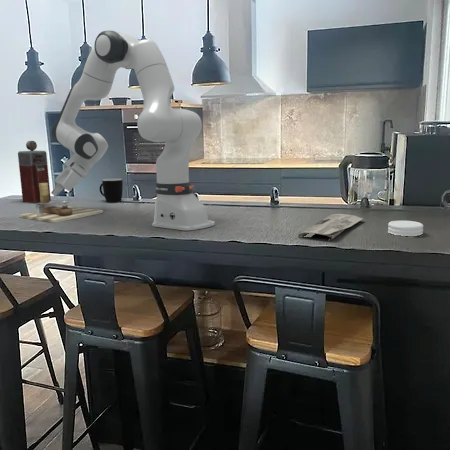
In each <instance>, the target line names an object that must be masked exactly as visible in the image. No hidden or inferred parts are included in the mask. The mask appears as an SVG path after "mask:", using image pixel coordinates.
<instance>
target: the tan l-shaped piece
mask: <svg viewBox="0 0 450 450" xmlns="http://www.w3.org/2000/svg"><path fill="white" fill-rule="evenodd" d="M39 189H40V200H41V202H40V203H46V202H50V201H49V192H48V183H39ZM44 212H48V213H55V214H59V215H69V214H72V208H63V207H62V206H51V207H45V208H44Z"/></svg>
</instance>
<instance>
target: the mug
mask: <svg viewBox="0 0 450 450" xmlns="http://www.w3.org/2000/svg"><path fill="white" fill-rule="evenodd" d="M123 188H124V185H123V178H105V179H102V181H101V184H100V186H99V193H100V194H101V195H102V196H103V197H104V199H105V201H106V203H111V204H112V203H120V202H121V201H122V198H123ZM102 189H103V190H102Z"/></svg>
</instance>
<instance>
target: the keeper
mask: <svg viewBox="0 0 450 450" xmlns="http://www.w3.org/2000/svg"><path fill="white" fill-rule="evenodd" d="M69 201H70V200H52V201H49V202H46V203H41V202H40V203H34V205H35V212H36V215H37V216H44V208H45V207H51V206H56V207H58V206H61V207H63V208H68V204H69Z"/></svg>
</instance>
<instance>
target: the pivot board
mask: <svg viewBox="0 0 450 450" xmlns="http://www.w3.org/2000/svg"><path fill="white" fill-rule="evenodd" d="M67 207H68V208H72V214H69V215H59V214H55V213H48V212H44V216H37V215H36V211H35V212H34V211H33V212H30V213H29V212H28V213H23V214H19V215H18V217H19V218H21V219H28V220H33V221H40V222H46V223H60V222H64V221H70V220H75V219H79V218H85V217H90V216H95V215H99V214H103V213H104V210H103V209H94V208H93V209H92V208H85V207H77V206H71V205H70V206H68V205H67Z"/></svg>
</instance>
